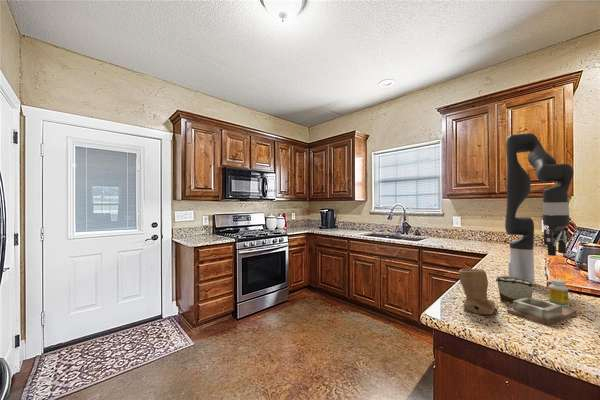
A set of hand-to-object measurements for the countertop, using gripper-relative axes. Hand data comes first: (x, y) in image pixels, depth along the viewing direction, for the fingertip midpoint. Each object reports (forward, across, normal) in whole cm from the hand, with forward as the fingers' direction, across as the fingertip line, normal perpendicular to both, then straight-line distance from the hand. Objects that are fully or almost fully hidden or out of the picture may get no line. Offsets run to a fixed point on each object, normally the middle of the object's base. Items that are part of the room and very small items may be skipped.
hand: (557, 254), depth 102 cm
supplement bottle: (+20, 0, 0) cm, 20 cm away
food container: (+21, +11, -9) cm, 25 cm away
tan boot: (+20, +32, -13) cm, 40 cm away
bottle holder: (+20, +16, +1) cm, 26 cm away
